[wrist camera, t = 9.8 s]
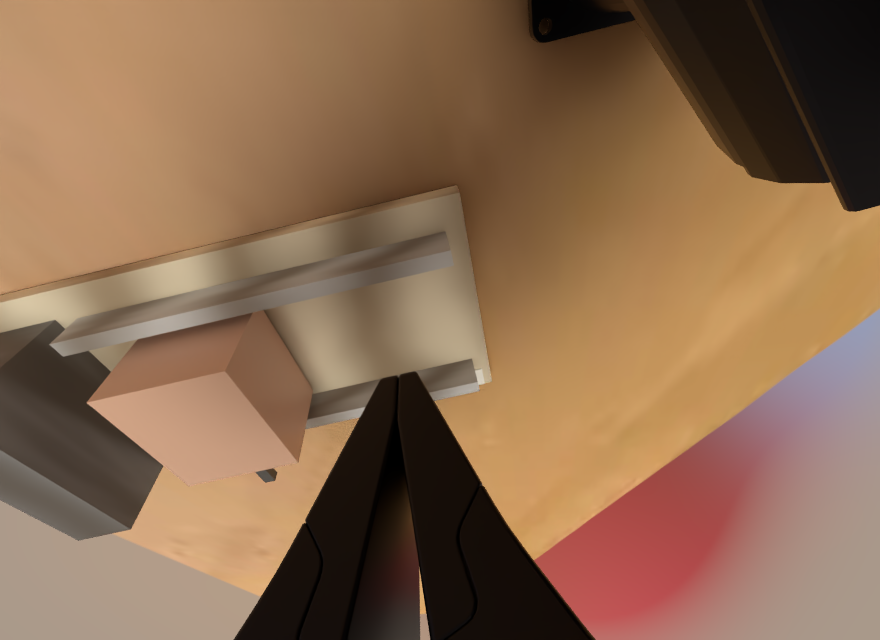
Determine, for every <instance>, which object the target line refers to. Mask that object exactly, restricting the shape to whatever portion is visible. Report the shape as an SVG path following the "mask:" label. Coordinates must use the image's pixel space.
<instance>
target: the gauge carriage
mask: <svg viewBox="0 0 880 640" xmlns="http://www.w3.org/2000/svg"><path fill="white" fill-rule="evenodd" d="M312 394H313V389H312V388H311V386H310V385H309V383H308V381H307V380H306V378H305V376H304V375H303V373H302V372H301V370H300V368H299V367H298V365H297V364H296V362H295V360H294V359H293V357H292V356H291V354H290V352H289V351H288V349H287V347H286V346H285V344H284V343H283V341H282V339H281V338H280V336H279V335H278V333H277V331H276V330H275V328H274V326H273V325H272V323H271V322H270V320H269V318H268V317H267V315H266V314H265V312H264V310H261V311H257V312H253V313H248V314H244V315H240V316H236V317H231V318H227V319H223V320H218V321H214V322H210V323H206V324H201V325H197V326H193V327H188V328H184V329H180V330H176V331H171V332H167V333H163V334H158V335H154V336H150V337H146V338H141V339H137V341H136V342H135V343H134V344H133V346H132V347H131V348H130V349H129V351H128V352H127V353H126V354H125V356H124V357H123V358H122V359H121V360H120V362H119V363H118V364H117V365H116V367H115V368H114V369H113V370H112V372H111V373H110V374H109V375H108V377H107V378H106V379H105V380H104V382H103V383H102V384H101V385H100V387H99V388H98V389H97V390H96V391H95V393H94V394H93V395H92V396H91V398H90V399H89V400H88V401H87V404H89V405H90V406H91V407H92V408H93V409H95V410H96V411H97V412H98V413H100V414H101V415H102V416H103V417H104V418H106V419H107V420H108V421H109V422H111V423H112V424H113V425H114V426H116V427H117V428H118V429H119V430H120V431H122V432H123V433H124V434H125V435H127V436H128V437H129V438H130V439H131V440H133V441H134V442H135V443H136V444H138V445H139V446H140V447H141V448H142V449H144V450H145V451H146V452H147V453H149V454H150V455H151V456H152V457H153V458H155V459H156V460H157V461H158V462H160V463H161V464H162V465H163V466H164V467H166V468H167V469H168V470H169V471H171V472H172V473H173V474H174V475H175V476H177V477H178V478H179V479H180V480H182V481H183V482H184V483H185V484H186V485H188V486H193V485H198V484H203V483H207V482H212V481H216V480H221V479H226V478H230V477H235V476H239V475H244V474H249V473H253V472H256V473H257V474H258V475H259V477H260V478H261V479H262V480H263V481H264V482H265V483H266V482H270V481H275V479H276V475H277V472H276V471H275V470H274V469H273V468H276V467H281V466H285V465H290V464H295V463H298V462H299V457H300V452H301V447H302V442H303V437H304V433H305V428H306V423H307V418H308V413H309V408H310V404H311V399H312Z"/></svg>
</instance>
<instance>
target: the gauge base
mask: <svg viewBox="0 0 880 640" xmlns="http://www.w3.org/2000/svg"><path fill="white" fill-rule="evenodd" d="M261 310H264V312H265V314H266V315H267V317H268V318H269V320H270V322H271V323H272V325H273V326H274V328H275V330H276V331H277V333H278V335H279V336H280V338H281V339H282V341H283V343H284V344H285V346H286V347H287V349H288V351H289V352H290V354H291V356H292V357H293V359H294V360H295V362H296V364H297V365H298V367H299V368H300V370H301V372H302V373H303V375H304V376H305V378H306V380H307V381H308V383H309V385H310V386H311V388H312V389H313V394H312V399H311V404H310V408H309V413H308V418H307V423H306V428H305V429H309V428H313V427H318V426H322V425H327V424H331V423H336V422H341V421H345V420H350V419H354V418H359V417H360V416H361V414H362V412H363V411H364V409H365V407H366V405H367V403H368V401H369V399H370V397H371V396H372V394H373V392H374V390H375V388H376V386H377V384H378V382H379V381H380V380H381V379H382V378H385V377H390V376H394V375H397V376H400V374H403V373H407V372H412V371H416V372H417V373H418V375H419V376H420V378H421V380H422V381H423V383H424V385H425V387H426V388H427V390H428V392H429V393H430V395H431V397H432V399H433V400H434V401H436V400H440V399H445V398H449V397H454V396H459V395H463V394H468V393H472V392H477V391H480V390H479V385H481V384H485V383H488V382H492V379H491V373H490V367H489V361H488V355H487V350H486V344H485V338H484V332H483V326H482V320H481V314H480V308H479V302H478V297H477V291H476V285H475V279H474V273H473V267H472V261H471V255H470V250H469V244H468V238H467V232H466V226H465V220H464V214H463V208H462V203H461V197H460V192H459V189H458V187H457V185H455V186H451V187H447V188H443V189H439V190H435V191H430V192H426V193H422V194H418V195H414V196H410V197H406V198H401V199H397V200H393V201H389V202H385V203H381V204H377V205H372V206H368V207H364V208H360V209H356V210H352V211H347V212H343V213H339V214H335V215H331V216H327V217H323V218H318V219H314V220H310V221H306V222H302V223H298V224H294V225H289V226H285V227H281V228H277V229H273V230H269V231H265V232H260V233H256V234H252V235H248V236H244V237H240V238H235V239H231V240H227V241H223V242H219V243H215V244H211V245H206V246H202V247H198V248H194V249H190V250H186V251H182V252H177V253H173V254H169V255H165V256H161V257H157V258H152V259H148V260H144V261H140V262H136V263H132V264H128V265H123V266H119V267H115V268H111V269H107V270H103V271H99V272H94V273H90V274H86V275H82V276H78V277H74V278H70V279H65V280H61V281H57V282H53V283H49V284H45V285H40V286H36V287H32V288H28V289H24V290H20V291H16V292H11V293H7V294H3V295H0V500H1V501H3V502H5V503H7V504H9V505H11V506H13V507H15V508H17V509H19V510H21V511H22V512H24V513H27V514H28V515H30V516H32V517H34V518H36V519H38V520H40V521H42V522H44V523H46V524H48V525H50V526H51V527H53V528H55V529H57V530H59V531H61V532H63V533H65V534H67V535H69V536H71V537H73V538H75V539H76V540H83V539H88V538H93V537H97V536H102V535H107V534H111V533H116V532H121V531H125V530H130V529H131V528H132V526H133V524H134V522H135V520H136V518H137V516H138V514H139V512H140V510H141V508H142V506H143V505H144V503H145V501H146V499H147V497H148V495H149V493H150V491H151V489H152V487H153V485H154V483H155V481H156V479H157V477H158V475H159V473H160V471H161V469H162V468H163V465H162V464H161V463H160V462H158V461H157V460H156V459H155V458H153V457H152V456H151V455H150V454H149V453H147V452H146V451H145V450H144V449H142V448H141V447H140V446H139V445H138V444H136V443H135V442H134V441H133V440H131V439H130V438H129V437H128V436H127V435H125V434H124V433H123V432H122V431H120V430H119V429H118V428H117V427H116V426H114V425H113V424H112V423H111V422H109V421H108V420H107V419H106V418H104V417H103V416H102V415H101V414H100V413H98V412H97V411H96V410H95V409H93V408H92V407H91V406H90V405H89V404H87V401H88V400H89V399H90V398H91V396H92V395H93V394H94V393H95V391H96V390H97V389H98V388H99V387H100V385H101V384H102V383H103V382H104V380H105V379H106V378H107V377H108V375H109V374H110V373H111V372H112V370H113V369H114V368H115V367H116V365H117V364H118V363H119V362H120V360H121V359H122V358H123V357H124V356H125V354H126V353H127V352H128V351H129V349H130V348H131V347H132V346H133V344H134V343H135V342H136V341H137V339H141V338H146V337H150V336H154V335H158V334H163V333H167V332H171V331H176V330H180V329H184V328H188V327H193V326H197V325H201V324H206V323H210V322H214V321H218V320H223V319H227V318H231V317H236V316H240V315H244V314H248V313H253V312H257V311H261Z"/></svg>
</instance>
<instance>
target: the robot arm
mask: <svg viewBox="0 0 880 640" xmlns="http://www.w3.org/2000/svg"><path fill="white" fill-rule="evenodd" d="M528 10H529V30H530V35H531V37H532V38H533V40H535V41H536V42H540V43H546V42H550V41H554V40H558V39H562V38H566V37H570V36H574V35H578V34H582V33H585V32H589V31H593V30H597V29H601V28H605V27H609V26H613V25H617V24H621V23H625V22H629V21H633V20H636V21H637V23H638V24H639V26H640V27H641V29H642V30H643V32H644V33H645V35H646V37H647V38H648V40H649V41H650V43H651V44H652V46H653V47H654V49H655V51H656V52H657V54H658V55H659V57H660V58H661V60H662V61H663V63H664V65H665V66H666V68H667V69H668V71H669V72H670V74H671V75H672V77H673V78H674V80H675V82H676V83H677V85H678V86H679V88H680V89H681V91H682V92H683V94H684V96H685V97H686V99H687V100H688V102H689V103H690V105H691V106H692V108H693V110H694V111H695V113H696V114H697V116H698V117H699V119H700V120H701V122H702V124H703V125H704V127H705V128H706V130H707V131H708V133H709V134H710V136H711V137H712V139H713V141H714V142H715V144H716V145H717V146H718V147H719V148H720V149H721V150H722V151H723V152H724V153H725V154H726V155H727V156H728V157H729V158H731V159H732V160H733V161H734V162H735V163H736V164H738V165H741V166H743V167H744V168H745V170H746V172H747V173H748V174H749V175H750V176H751V177H754V178H759V179H764V180H768V181H773V182H778V183H829V182H831V183H832V186H833V188H834V190H835V192H836V194H837V196H838V198H839V201H840V203H841V205H842V207H843V209H844V210H847V211H855V212H856V211H860V210H864V209H868V208H872V207H875V206H879V205H880V0H528ZM544 18H546V19H547V20H548V23H549V26H548V30H547V31H546V33H544V34H543V35H542V34H541V33H540V31H539V24H540V22H541V20H542V19H544ZM305 521H306V523H304V524H302V526H301V528H300V530H299V532H298V534H297V536H296V538H295V539H294V541H293V543H292V545H291V547H290V549H289V550H288V552H287V554H286V556H285V557H284V559H283V561H282V563H281V564H280V566H279V568H278V570H277V572H276V573H275V575H274V577H273V578H272V580H271V581H270V583H269V585H268V586H267V588H266V590H265V591H264V593H263V594H262V596H261V598H260V599H259V601H258V603H257V604H256V606H255V608H254V609H253V611H252V612H251V614H250V615H249V617H248V618H247V620H246V622H245V623H244V625H243V626H242V628H241V629H240V631H239V632H238V634H237V635H236V637H235V639H234V640H420V591H419V567H420V574H421V581H422V587H423V594H424V600H425V607H426V613H427V620H428V626H429V633H430V640H595V638H594V637H593V636H592V635H591V633H590V632H589V631H588V630H587V628H586V627H585V626H584V625H583V624H582V622H581V621H580V620H579V618H578V617H577V616H576V615H575V613H574V612H573V611H572V609H571V608H570V607H569V605H568V604H567V603H566V602H565V600H564V599H563V598H562V596H561V595H560V594H559V593H558V591H557V590H556V589H555V587H554V586H553V585H552V584H551V582H550V581H549V580H548V578H547V577H546V576H545V575H544V573H543V572H542V571H541V569H540V568H539V567H538V565H537V564H536V563H535V562H534V560H533V559H532V558H531V556H530V555H529V554H528V552H527V551H526V550H525V548H524V547H523V546H522V544H521V543H520V541H519V540H518V539H517V537H516V536H515V535H514V533H513V532H512V530H511V529H510V528H509V526H508V525H507V523H506V521H505V520H504V518H503V517H502V515H501V514H500V512H499V510H498V509H497V507H496V506H495V504H494V502H493V501H492V499H491V497H490V496H489V494H488V492H487V490H486V489H485V487H484V486H482V482H481V481H480V479H479V477H478V475H477V474H476V472H475V470H474V469H473V467H472V465H471V463H470V462H469V460H468V458H467V457H466V455H465V453H464V452H463V450H462V448H461V446H460V445H459V443H458V441H457V440H456V438H455V436H454V434H453V433H452V431H451V429H450V428H449V426H448V424H447V422H446V421H445V419H444V417H443V416H442V414H441V412H440V411H439V409H438V407H437V405H436V404H435V402H434V400H433V399H432V397H431V395H430V393H429V392H428V390H427V388H426V387H425V385H424V383H423V381H422V380H421V378H420V376H419V375H418V373H417V372H416V371H412V372H407V373H403V374H400V376H397V375H394V376H390V377H385V378H382V379H381V380H380V381H379V382H378V384H377V386H376V388H375V390H374V392H373V394H372V396H371V397H370V399H369V401H368V403H367V405H366V407H365V409H364V411H363V412H362V414H361V416H360V418H359V420H358V422H357V424H356V426H355V427H354V429H353V431H352V433H351V435H350V437H349V439H348V441H347V442H346V444H345V446H344V448H343V450H342V452H341V454H340V456H339V457H338V459H337V461H336V463H335V465H334V467H333V469H332V470H331V472H330V474H329V476H328V478H327V480H326V482H325V484H324V485H323V487H322V489H321V491H320V493H319V495H318V497H317V499H316V500H315V502H314V504H313V506H312V508H311V510H310V512H309V514H308V515H307V517H306V519H305Z"/></svg>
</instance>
